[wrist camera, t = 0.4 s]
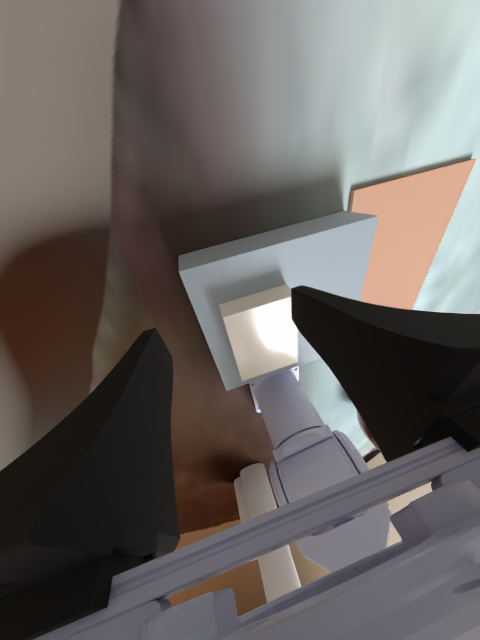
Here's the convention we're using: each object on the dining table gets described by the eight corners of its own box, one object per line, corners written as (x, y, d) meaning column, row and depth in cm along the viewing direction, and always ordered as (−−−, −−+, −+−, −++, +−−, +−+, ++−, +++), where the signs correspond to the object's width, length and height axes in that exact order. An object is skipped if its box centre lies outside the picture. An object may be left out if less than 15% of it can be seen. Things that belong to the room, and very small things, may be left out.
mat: (408, 309, 29) (411, 311, 29) (331, 336, 28) (333, 337, 28) (471, 159, 19) (476, 158, 18) (351, 190, 17) (354, 190, 17)
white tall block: (243, 465, 47) (276, 606, 32) (269, 460, 50) (311, 588, 34) (231, 484, 53) (254, 613, 37) (255, 479, 56) (285, 597, 40)
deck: (329, 329, 27) (349, 348, 24) (220, 365, 26) (226, 390, 23) (343, 210, 18) (378, 215, 15) (178, 255, 17) (178, 271, 14)
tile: (289, 348, 21) (297, 362, 20) (237, 366, 21) (242, 381, 19) (285, 284, 16) (297, 294, 15) (218, 304, 16) (222, 317, 14)
